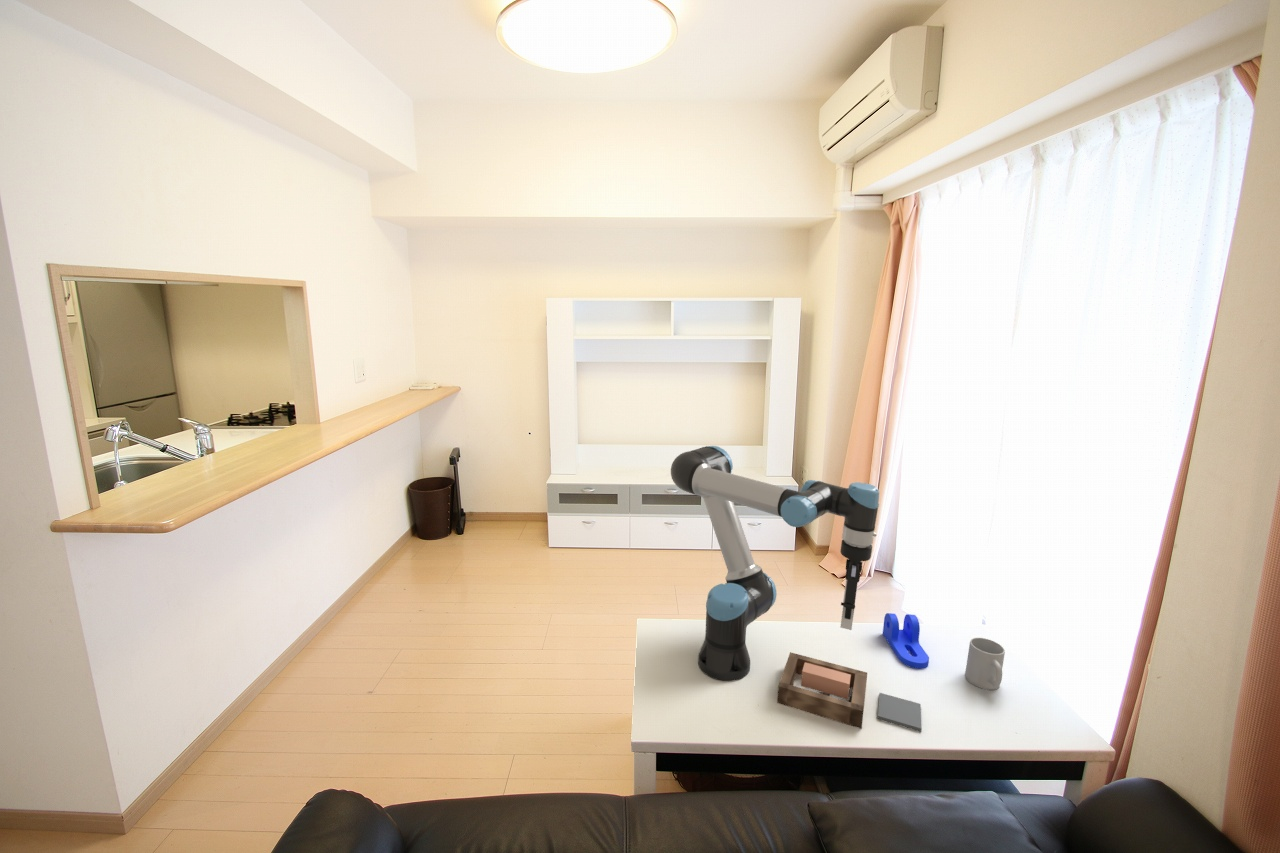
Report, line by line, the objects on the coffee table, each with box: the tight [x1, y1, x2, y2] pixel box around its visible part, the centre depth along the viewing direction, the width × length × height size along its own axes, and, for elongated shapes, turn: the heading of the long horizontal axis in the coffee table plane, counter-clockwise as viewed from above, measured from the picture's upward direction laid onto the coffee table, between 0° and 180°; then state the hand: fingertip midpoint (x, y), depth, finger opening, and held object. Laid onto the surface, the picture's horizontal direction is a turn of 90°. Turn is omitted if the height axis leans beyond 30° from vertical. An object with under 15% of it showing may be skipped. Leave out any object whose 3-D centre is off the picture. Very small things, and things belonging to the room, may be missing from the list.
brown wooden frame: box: [776, 651, 868, 730], centre depth 149 cm, size 21×17×5 cm
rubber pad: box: [877, 692, 923, 733], centre depth 143 cm, size 10×10×1 cm
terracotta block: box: [800, 662, 851, 700], centre depth 148 cm, size 12×4×4 cm, turn 65°
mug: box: [964, 637, 1006, 691], centre depth 154 cm, size 12×8×11 cm
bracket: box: [882, 612, 930, 670], centre depth 170 cm, size 18×8×9 cm, turn 175°
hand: (847, 615), depth 148 cm, fingers open, 13 cm apart
